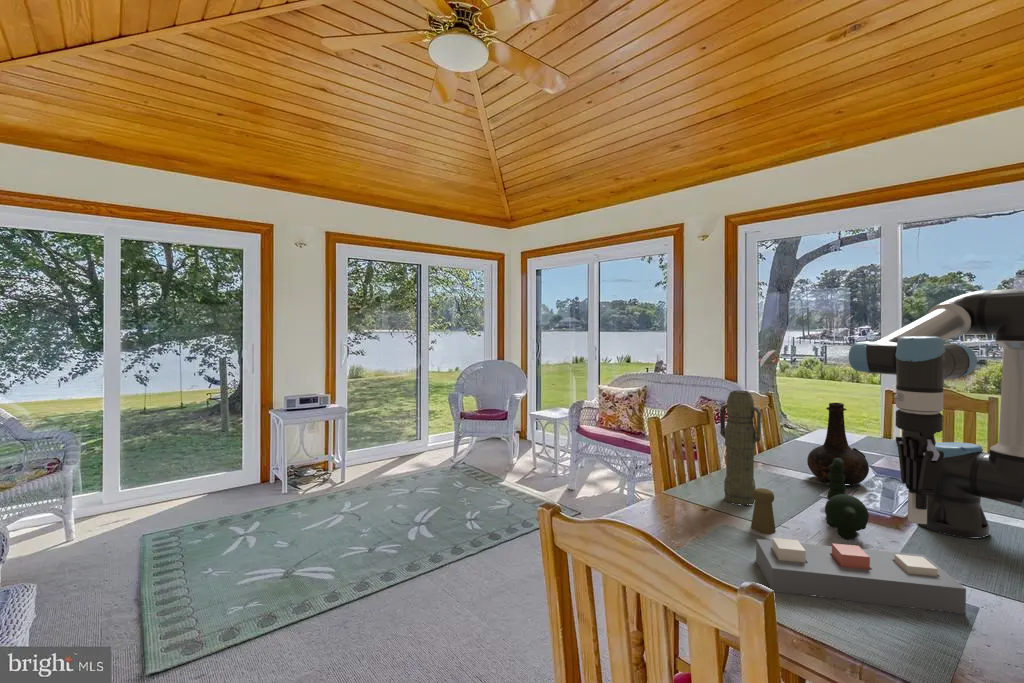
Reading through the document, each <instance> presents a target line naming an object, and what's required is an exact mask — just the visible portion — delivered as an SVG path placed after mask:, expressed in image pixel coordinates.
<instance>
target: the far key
mask: <svg viewBox="0 0 1024 683" xmlns="http://www.w3.org/2000/svg"><path fill="white" fill-rule="evenodd" d="M772 541H773V542H772V552H773V553H774V555H775V557H776V558H777V560H781V561H791V562H800V563H806V551H805V549H804V548H803V546H802V545H801V544H800V543H801V542H800V541H799V540H798V539H790V538H789V539H788V538H786V539H785V538H776V537H772Z"/></svg>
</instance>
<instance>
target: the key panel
mask: <svg viewBox="0 0 1024 683" xmlns="http://www.w3.org/2000/svg"><path fill="white" fill-rule="evenodd" d="M772 542H773V540H772V539H771V540H769V539H759V538H756V540H755V543H756V546H755V548H756V549H755V560H756V563H757V564H758V563H759V564H758V566H759V568H760V570H761V572H762V574H763V576H764V578H765V580H766V581H767V584H768V586H769V588H770V590H771V589H772V590H774V591H773V592H774V593H775V592H776V593H784V594H791V593H793V595H799V594H804V595H803V596H808V595H816V596H823V597H822V598H825V597H831V598H830V599H833V598H838V599H837V600H842V599H845V600H844V601H850V600H853V602H859V601H860V603H867V602H868V603H870V604H878V605H887V606H894V607H902V608H910V607H914V608H913V609H918V608H924V609H923V610H927V609H934V610H933V611H935V610H942V611H941V612H944V611H950V612H949V613H952V612H957V613H956V614H961V613H962V614H961V615H966V606H967V604H966V603H967V588H966V587H965V586H963V585H962V584H961V583H960V582H958V581H957V580H956V579H955V578H953V577H952V576H951V575H950V574H948V573H947V572H946V571H945V570H944V569H942V568H941V567H940V566H939V565H937V564H936V563H935V562H934V561H933V560H931V559H930V558H928V557H927V556H926V555H925V554H919V553H908V552H899V551H888V550H887V551H886V550H877V549H876V550H875V549H868V548H867V549H866V548H861V549H862V550H863V551H864V552H865V553H866V554H867V555H868V556H869V557H870V570H869V569H859V568H849V567H840V566H839V565H838V564H837V562H836V561H835V560H834V559H833V558H832V545H821V544H814V543H813V544H810V543H801V542H800V544H801V545H802V546H803V548H804V549H805V551H806V563H800V562H791V561H781V560H777V558H776V557H775V555H774V553H773V552H772ZM895 554H898V555H909V556H919V557H924V558H925V559H926V560H927V561H929V562H930V563H931V564H932V565H933V566H935V567H936V568H937V569H938V575H937V576H927V575H917V574H908V573H905V572H904V571H903V570H902V569H901V568H900V567H899V566H898V565H897V564H896V563H895V562H894V556H895ZM772 590H771V591H772ZM794 593H795V594H794ZM816 596H815V597H816Z"/></svg>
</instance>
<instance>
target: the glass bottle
mask: <svg viewBox="0 0 1024 683" xmlns="http://www.w3.org/2000/svg"><path fill="white" fill-rule="evenodd" d="M844 407H845V404H844V403H841V402H829V403H828V406H827V407H826V408H825V409H826V410H828V418H827V421H828V422H827V431H826V436H825V440H824V443H823V444H822V445H819V446H817V447H814V448H813V449H812V450H811V451H809V453H808V456H807V465H808V468H809V470H810V471H811V474H813V475H814V476H815V477H816V478H817V479H819V480H820V481H822V482H823V483H826V484H828V483H829V482H830V479H829V478H828V477H827V474H828V473H830V472H831V471H830V469H829V465H831V464H833V460H834V459H835V458H841V459H842V460H843V461H844V464H843V468H844V472H843V474H844V476H845V481H844V482H843V483H844V484H850V485H851V486H855V484H856V485H858V484H861V482H863V481H864V480H865V479H866V478H867V476H868V475H869V472H870V465H869V462H868V460H867V458H866V455H865V454H864V453H863V452H862V451H860V450H859V449H857V448H855V447H852V448H851V447H850V445H849V442H848V440H847V439H848V438H847V434H846V427H845V426H846V425H845V415H844V414H845V411H847V408H844Z"/></svg>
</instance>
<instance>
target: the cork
mask: <svg viewBox="0 0 1024 683" xmlns="http://www.w3.org/2000/svg"><path fill="white" fill-rule="evenodd" d="M753 498H754V501H755V503H754V505H753V513H752V518H751V524H750V528H751V530H753V531H754V530H755V532H757V533H761V534H765V535H767V534H768V535H769V534H775V533H776V524H775V516H774V508H773V502H774V501H775V494H774V493H773V491H772V490H771V489H768V488H763V487H758V488H757V487H756V488H755V490H754V491H753Z"/></svg>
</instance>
